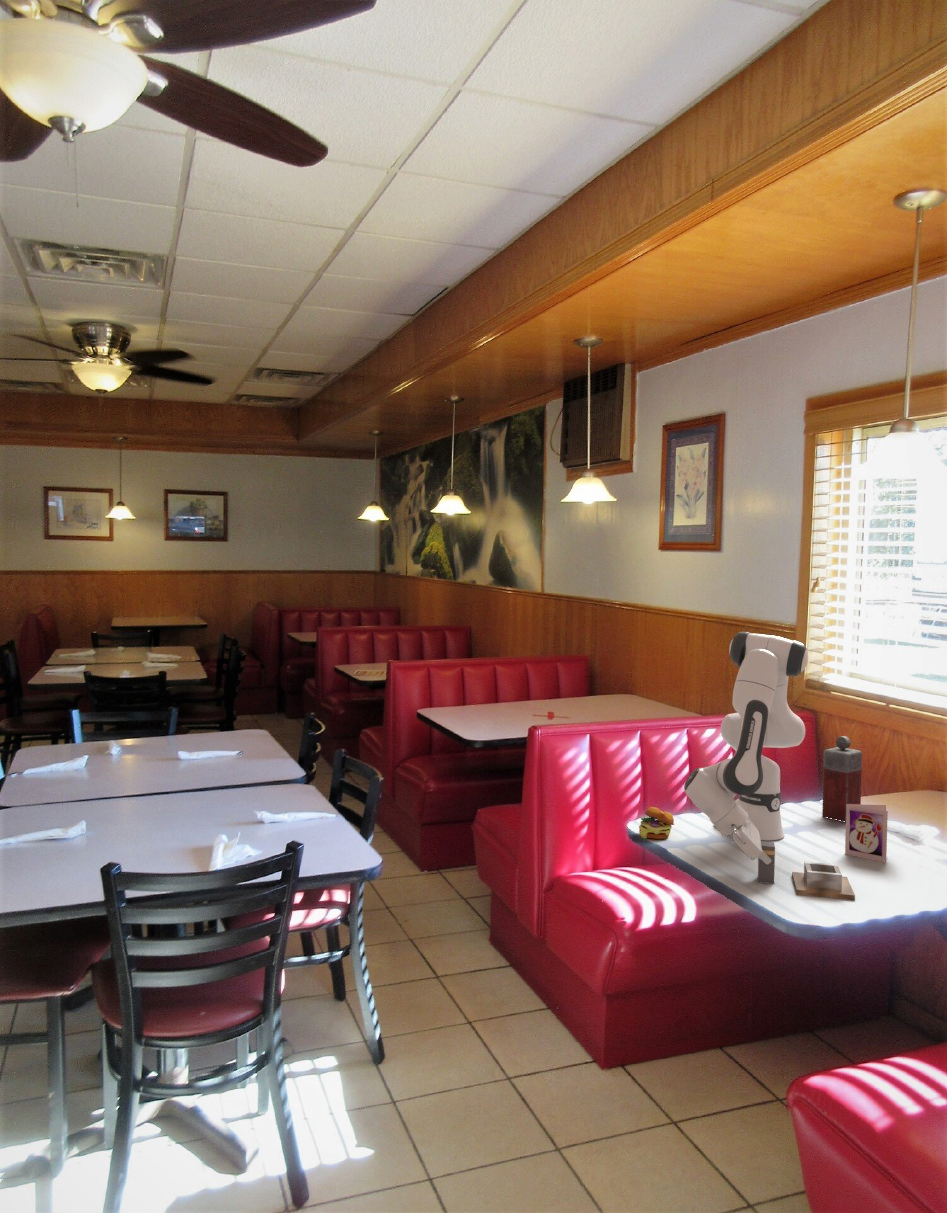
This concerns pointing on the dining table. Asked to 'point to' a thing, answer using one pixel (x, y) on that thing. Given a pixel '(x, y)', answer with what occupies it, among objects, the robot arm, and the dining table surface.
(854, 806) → the greeting card
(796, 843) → the dining table surface
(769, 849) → the block
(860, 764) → the pepper mill
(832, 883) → the holder
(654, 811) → the cheeseburger
